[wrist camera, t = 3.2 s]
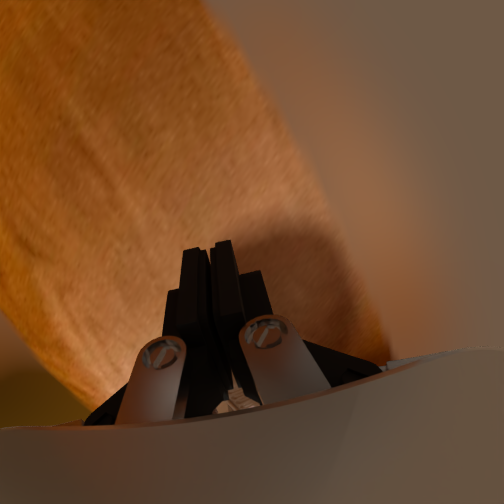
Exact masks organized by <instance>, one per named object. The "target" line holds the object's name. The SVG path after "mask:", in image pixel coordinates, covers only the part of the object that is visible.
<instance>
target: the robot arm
mask: <svg viewBox="0 0 504 504" xmlns="http://www.w3.org/2000/svg"><path fill="white" fill-rule="evenodd" d="M210 262H211V265H210ZM210 262H209V258H208V255H207V252H206V249H205V250H200V248H199V247H196V248H192V249H187V250H184V251H183V257H182V266H181V275H180V284H179V288H178V289H174V290H170V291H168V295H167V302H166V309H165V316H164V324H163V331H162V337H158V338H156V339H153V340H151V341H150V342H149V343H147V344H146V345H145V346H144V347H143V348H142V349H141V350H140V352H139V354H138V356H137V359H136V362H135V365H134V367H133V370H132V373H131V376H130V379H129V382H128V383H127V384H126V385H124V386H123V387H122V388H121V389H120V390H118V391H117V392H116V393H115V394H114V395H113V396H111V397H110V398H109V399H108V400H107V401H105V402H104V403H103V404H102V405H101V406H100V407H98V408H97V409H96V410H95V411H94V412H92V413H91V415H90V416H89V417H88V418H87V419H86V421H85V422H84V421H83V420H82V419H80V420H75V421H71V422H68V423H63V424H59V425H54V426H19V427H7V428H2V429H0V504H504V348H501V347H489V346H483V347H470V348H462V349H457V350H452V351H445V352H440V353H435V354H429V355H425V356H419V357H413V358H407V359H401V360H395V361H388V362H387V363H386V366H380V367H378V366H377V365H376V364H373V363H371V362H369V361H366V360H363V359H360V358H356V357H353V356H350V355H347V354H344V353H341V352H338V351H335V350H332V349H329V348H326V347H323V346H320V345H317V344H314V343H311V342H308V341H305V340H302V339H301V337H300V336H299V334H298V332H297V331H296V329H295V328H294V326H293V324H292V323H291V322H290V321H289V320H288V319H286V318H284V317H282V316H278V315H273V312H272V308H271V305H270V301H269V298H268V295H267V291H266V288H265V284H264V281H263V278H262V274H261V271H260V270H258V271H254V272H250V273H245V274H241V275H239V272H238V268H237V263H236V259H235V255H234V251H233V247H232V243H231V240H226V241H222V242H217V243H215V247H214V248H210ZM232 372H233V375H234V378H235V380H236V383H237V386H238V388H242V390H243V393H244V395H245V396H246V397H248V398H250V399H252V400H253V401H255V402H257V403H259V405H260V406H256V407H252V408H247V409H241V410H236V411H231V412H225V413H219V414H218V411H217V409H216V408H217V407H218V405H219V404H220V403H221V402H222V401H227V400H229V394H228V390H232V389H234V386H233V377H232Z"/></svg>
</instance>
